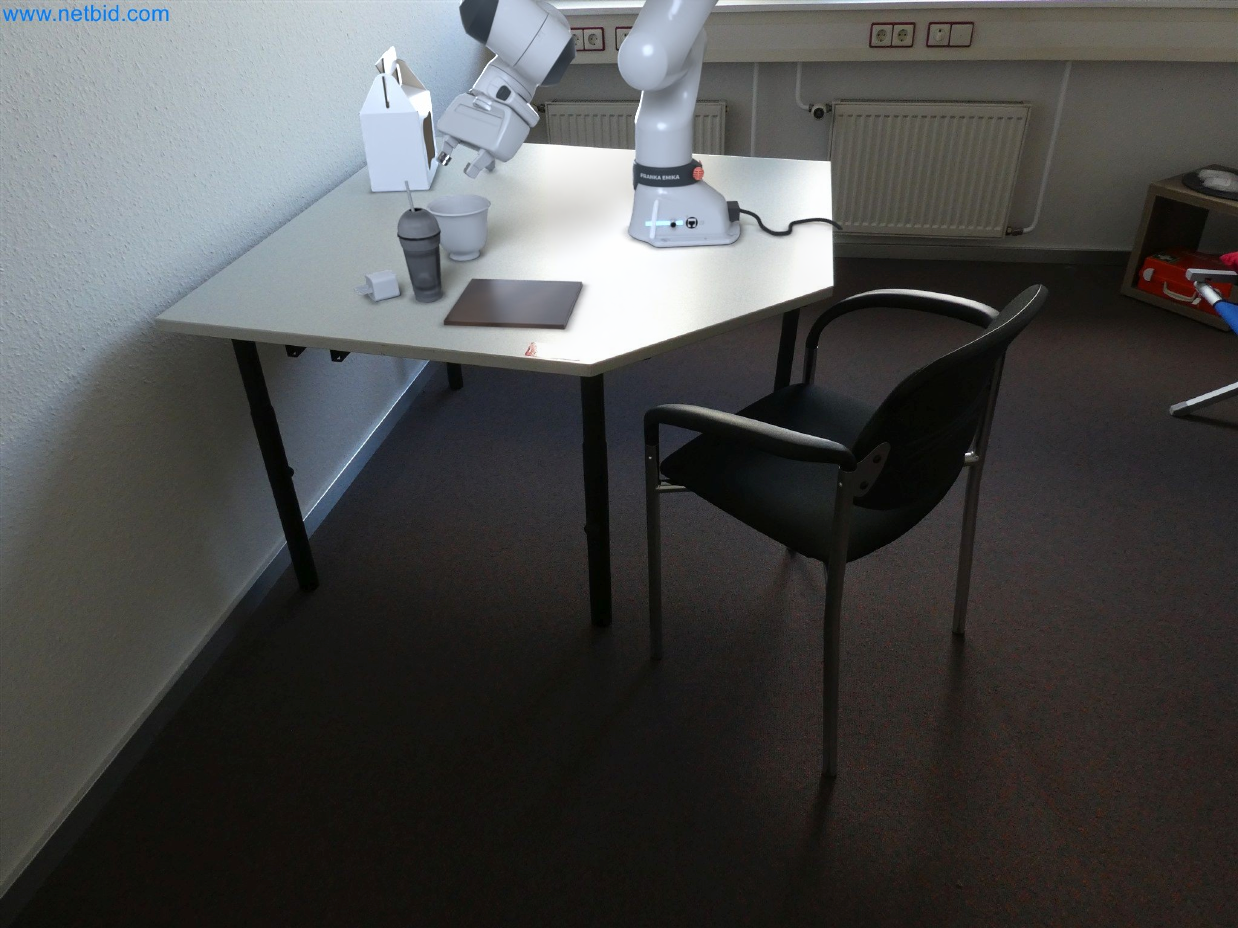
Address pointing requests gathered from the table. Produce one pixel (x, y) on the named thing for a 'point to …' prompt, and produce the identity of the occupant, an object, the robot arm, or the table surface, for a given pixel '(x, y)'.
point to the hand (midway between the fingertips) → (454, 169)
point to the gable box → (398, 129)
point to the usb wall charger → (380, 285)
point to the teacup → (461, 224)
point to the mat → (515, 303)
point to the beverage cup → (421, 251)
